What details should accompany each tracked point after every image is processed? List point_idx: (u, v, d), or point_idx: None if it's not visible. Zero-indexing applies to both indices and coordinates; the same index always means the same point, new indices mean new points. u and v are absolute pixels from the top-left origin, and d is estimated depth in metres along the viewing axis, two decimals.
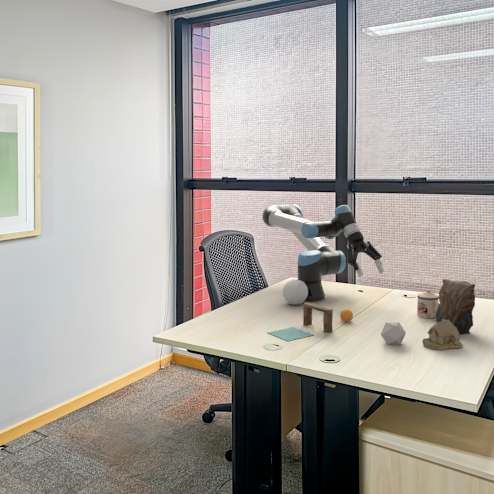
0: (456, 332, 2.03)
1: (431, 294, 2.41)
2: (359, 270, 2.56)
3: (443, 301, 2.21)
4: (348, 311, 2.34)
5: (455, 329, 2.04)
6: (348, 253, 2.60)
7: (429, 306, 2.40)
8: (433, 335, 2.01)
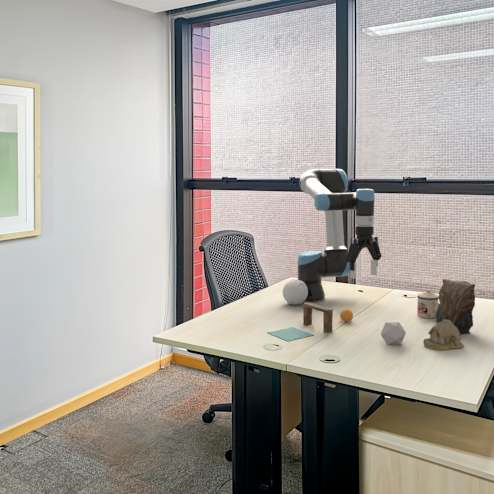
0: (457, 332, 2.03)
1: (431, 294, 2.41)
2: (354, 272, 2.35)
3: (443, 301, 2.21)
4: (348, 311, 2.34)
5: (456, 329, 2.04)
6: (350, 249, 2.34)
7: (429, 306, 2.40)
8: (434, 335, 2.01)
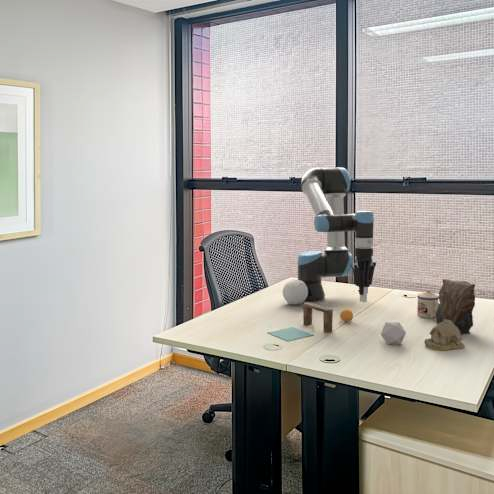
0: (458, 332, 2.03)
1: (431, 294, 2.41)
2: (363, 296, 2.39)
3: (443, 301, 2.21)
4: (348, 311, 2.34)
5: (457, 329, 2.04)
6: (354, 275, 2.37)
7: (429, 306, 2.40)
8: (435, 336, 2.01)
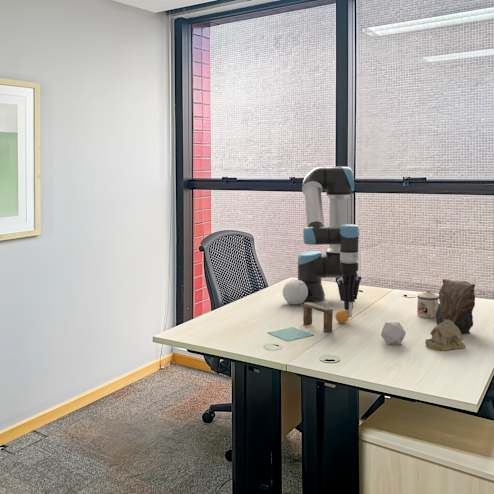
0: (458, 332, 2.03)
1: (431, 294, 2.41)
2: (348, 311, 2.35)
3: (443, 301, 2.21)
4: (341, 314, 2.32)
5: (457, 329, 2.04)
6: (340, 290, 2.32)
7: (429, 306, 2.40)
8: (436, 336, 2.01)
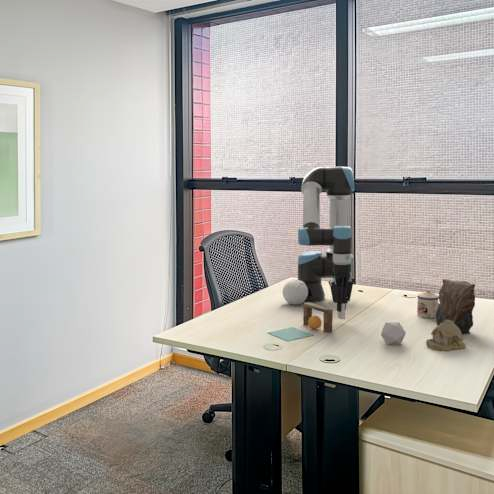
0: (459, 332, 2.03)
1: (431, 294, 2.41)
2: (341, 313, 2.33)
3: (443, 301, 2.21)
4: (317, 318, 2.24)
5: (458, 329, 2.04)
6: (332, 292, 2.31)
7: (429, 306, 2.40)
8: (437, 336, 2.00)
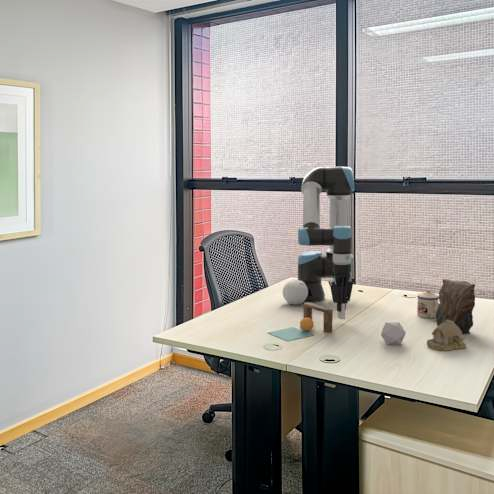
0: (460, 332, 2.03)
1: (431, 294, 2.41)
2: (341, 313, 2.33)
3: (443, 301, 2.21)
4: (305, 326, 2.21)
5: (458, 329, 2.04)
6: (332, 292, 2.31)
7: (429, 306, 2.40)
8: (438, 336, 2.00)
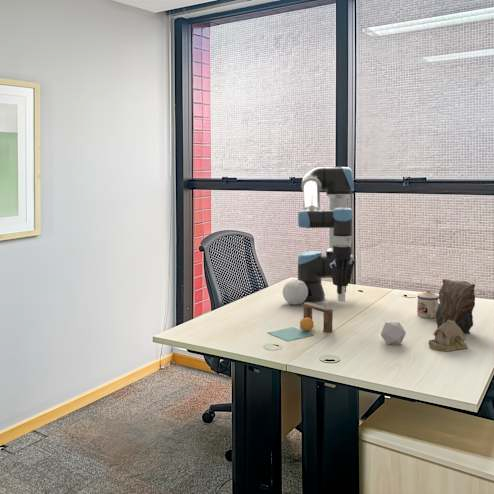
0: (461, 332, 2.03)
1: (431, 294, 2.41)
2: (341, 295, 2.33)
3: (443, 301, 2.21)
4: (305, 326, 2.21)
5: (460, 329, 2.04)
6: (332, 274, 2.30)
7: (429, 306, 2.40)
8: (440, 336, 2.00)
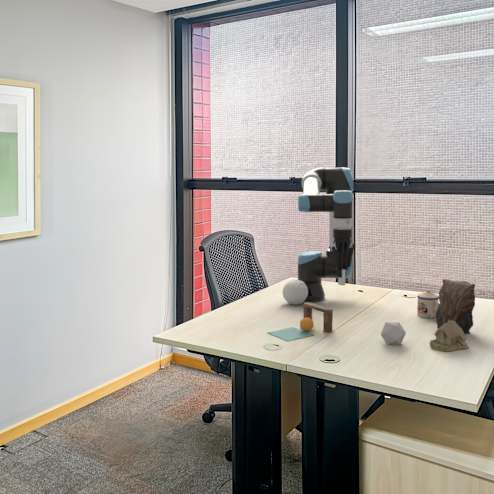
0: (462, 333, 2.03)
1: (431, 294, 2.41)
2: (341, 279, 2.31)
3: (443, 301, 2.21)
4: (305, 326, 2.21)
5: (461, 330, 2.04)
6: (332, 257, 2.29)
7: (429, 306, 2.40)
8: (441, 337, 2.00)
